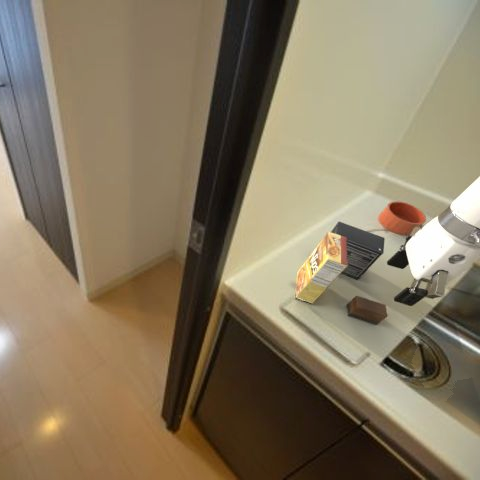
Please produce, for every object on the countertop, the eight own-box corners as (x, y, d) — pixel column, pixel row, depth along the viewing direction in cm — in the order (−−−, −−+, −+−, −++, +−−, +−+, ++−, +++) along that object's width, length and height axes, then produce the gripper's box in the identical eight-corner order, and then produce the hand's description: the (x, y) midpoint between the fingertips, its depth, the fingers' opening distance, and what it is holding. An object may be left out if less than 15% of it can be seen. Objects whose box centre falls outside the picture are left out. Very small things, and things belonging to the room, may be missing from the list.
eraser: (374, 313, 75) (385, 304, 72) (376, 325, 73) (387, 316, 70) (346, 304, 77) (356, 295, 74) (347, 315, 75) (357, 306, 72)
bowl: (411, 217, 98) (422, 206, 95) (417, 239, 92) (429, 228, 89) (376, 209, 100) (385, 197, 97) (380, 229, 94) (390, 218, 91)
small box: (360, 263, 85) (386, 236, 77) (358, 280, 81) (384, 254, 74) (318, 246, 89) (339, 219, 81) (314, 262, 85) (335, 235, 77)
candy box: (296, 272, 83) (326, 230, 71) (314, 277, 82) (347, 236, 70) (293, 299, 77) (326, 258, 66) (312, 305, 76) (349, 266, 65)
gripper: (516, 270, 47) (428, 326, 60) (478, 199, 58) (410, 259, 70) (456, 253, 49) (383, 311, 61) (430, 187, 60) (372, 248, 72)
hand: (398, 283), depth 66 cm, fingers open, 9 cm apart
